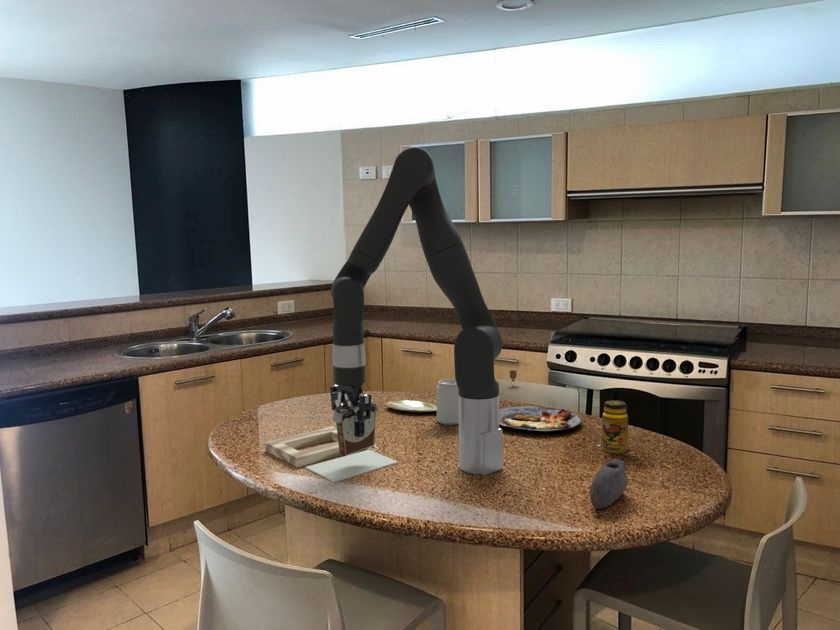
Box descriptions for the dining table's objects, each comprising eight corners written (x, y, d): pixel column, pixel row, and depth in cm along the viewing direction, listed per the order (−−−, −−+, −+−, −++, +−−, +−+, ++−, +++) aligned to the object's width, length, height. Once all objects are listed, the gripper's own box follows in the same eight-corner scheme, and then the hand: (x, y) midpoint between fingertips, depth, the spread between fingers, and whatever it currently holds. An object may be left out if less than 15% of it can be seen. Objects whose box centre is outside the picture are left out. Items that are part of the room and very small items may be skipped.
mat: (398, 463, 159) (398, 461, 159) (333, 483, 148) (333, 480, 148) (368, 451, 168) (368, 449, 168) (305, 468, 157) (305, 466, 157)
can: (467, 420, 193) (467, 379, 192) (455, 427, 187) (454, 385, 186) (445, 417, 197) (444, 377, 196) (432, 423, 191) (431, 382, 190)
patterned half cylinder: (360, 439, 164) (359, 399, 163) (378, 444, 161) (377, 403, 159) (322, 452, 155) (321, 410, 154) (340, 457, 151) (339, 414, 150)
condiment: (604, 455, 163) (605, 406, 161) (594, 443, 171) (595, 397, 169) (634, 454, 163) (635, 405, 161) (623, 443, 171) (623, 396, 170)
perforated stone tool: (605, 517, 128) (606, 482, 127) (579, 511, 131) (579, 477, 130) (632, 492, 140) (633, 459, 139) (608, 487, 143) (608, 455, 142)
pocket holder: (367, 448, 170) (367, 439, 170) (297, 467, 158) (297, 457, 157) (333, 434, 183) (332, 426, 182) (265, 451, 170) (265, 442, 170)
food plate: (590, 419, 194) (590, 407, 193) (569, 442, 173) (569, 429, 173) (507, 410, 205) (507, 398, 205) (479, 431, 184) (478, 418, 184)
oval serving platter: (499, 416, 198) (499, 409, 198) (485, 425, 189) (485, 418, 189) (396, 403, 215) (396, 397, 215) (379, 411, 206) (378, 404, 205)
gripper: (380, 365, 152) (382, 437, 154) (345, 356, 163) (347, 423, 165) (352, 370, 147) (355, 444, 149) (318, 360, 158) (321, 429, 160)
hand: (351, 433), depth 157 cm, fingers closed on patterned half cylinder, 6 cm apart
